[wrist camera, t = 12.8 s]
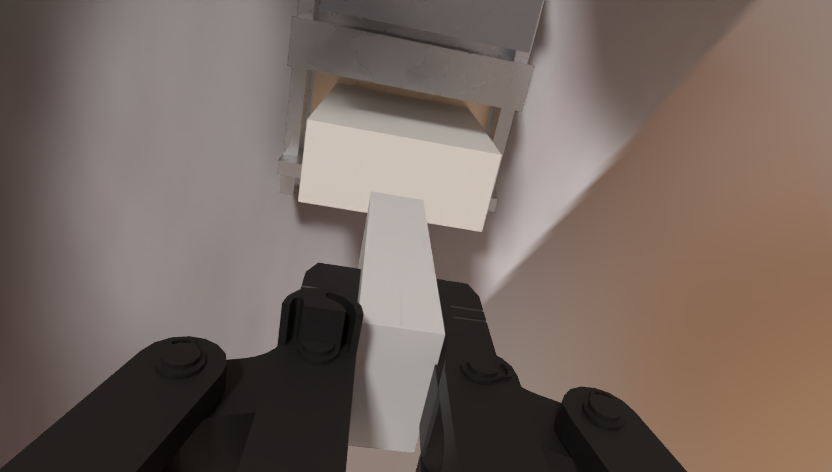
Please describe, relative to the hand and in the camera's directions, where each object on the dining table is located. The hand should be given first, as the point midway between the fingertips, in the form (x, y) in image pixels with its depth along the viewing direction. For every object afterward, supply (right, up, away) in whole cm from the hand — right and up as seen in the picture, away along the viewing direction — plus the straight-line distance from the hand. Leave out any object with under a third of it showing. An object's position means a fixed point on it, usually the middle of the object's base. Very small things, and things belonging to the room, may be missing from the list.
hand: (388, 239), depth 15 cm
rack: (0, +10, +17) cm, 19 cm away
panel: (0, +7, +17) cm, 18 cm away
